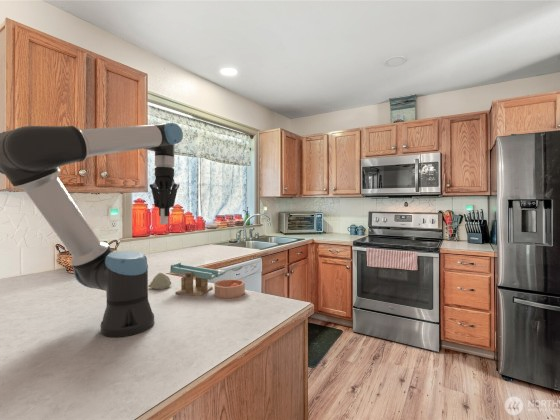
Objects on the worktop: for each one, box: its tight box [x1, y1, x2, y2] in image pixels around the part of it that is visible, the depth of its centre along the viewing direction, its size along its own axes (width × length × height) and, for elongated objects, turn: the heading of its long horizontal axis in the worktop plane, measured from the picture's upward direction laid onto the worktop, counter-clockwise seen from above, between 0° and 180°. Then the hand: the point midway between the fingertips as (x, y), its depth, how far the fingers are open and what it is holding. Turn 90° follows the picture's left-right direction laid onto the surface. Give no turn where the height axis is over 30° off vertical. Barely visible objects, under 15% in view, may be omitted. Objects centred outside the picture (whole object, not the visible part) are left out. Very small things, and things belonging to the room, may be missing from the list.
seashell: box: [148, 272, 172, 290], centre depth 137 cm, size 8×8×8 cm
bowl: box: [213, 278, 246, 299], centre depth 126 cm, size 13×13×4 cm
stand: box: [175, 272, 214, 297], centre depth 130 cm, size 11×12×9 cm
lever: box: [169, 261, 227, 281], centre depth 133 cm, size 14×20×3 cm
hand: (164, 224), depth 121 cm, fingers closed
